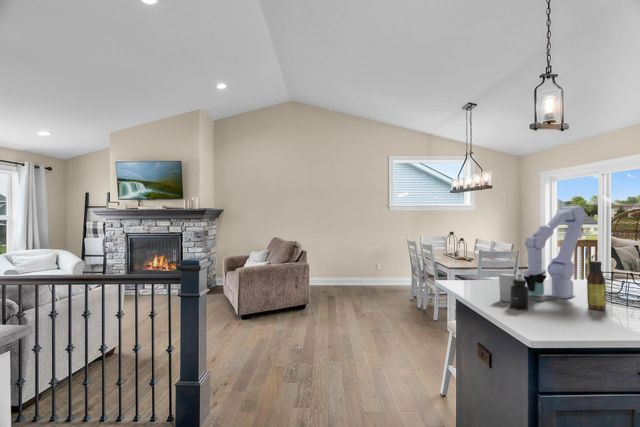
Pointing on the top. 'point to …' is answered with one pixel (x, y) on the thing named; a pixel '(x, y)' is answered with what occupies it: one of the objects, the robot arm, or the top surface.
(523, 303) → the supplement bottle
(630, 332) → the top surface
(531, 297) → the rubber mat
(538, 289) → the teal cube
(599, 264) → the sauce bottle
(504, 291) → the skincare box
